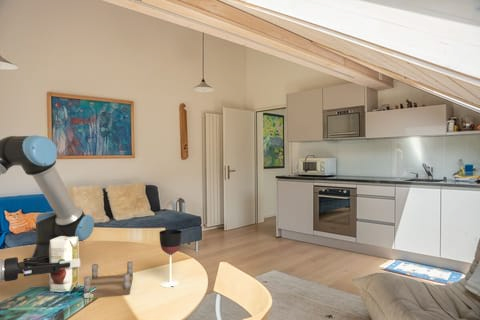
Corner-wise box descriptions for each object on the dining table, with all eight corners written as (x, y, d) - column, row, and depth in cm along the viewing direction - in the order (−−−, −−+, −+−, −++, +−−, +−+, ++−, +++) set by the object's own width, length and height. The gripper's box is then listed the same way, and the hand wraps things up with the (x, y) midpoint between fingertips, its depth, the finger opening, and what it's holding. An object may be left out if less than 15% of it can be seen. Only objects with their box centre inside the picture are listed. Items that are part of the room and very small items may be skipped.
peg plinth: (92, 282, 127) (92, 264, 127) (132, 278, 131) (132, 261, 131) (83, 299, 111) (83, 278, 111) (129, 294, 115) (129, 275, 115)
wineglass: (171, 289, 120) (171, 235, 120) (154, 284, 124) (154, 232, 124) (185, 282, 127) (186, 231, 127) (169, 278, 131) (169, 228, 131)
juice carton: (60, 285, 123) (60, 235, 123) (81, 286, 122) (81, 235, 122) (46, 293, 116) (46, 240, 116) (68, 294, 115) (68, 240, 115)
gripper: (4, 272, 118) (73, 261, 131) (2, 292, 100) (82, 277, 113) (4, 251, 118) (73, 242, 130) (2, 268, 100) (82, 256, 113)
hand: (78, 258), depth 122 cm, fingers closed on juice carton, 9 cm apart
